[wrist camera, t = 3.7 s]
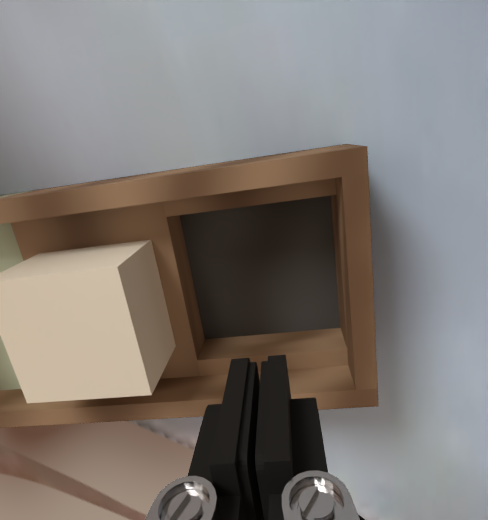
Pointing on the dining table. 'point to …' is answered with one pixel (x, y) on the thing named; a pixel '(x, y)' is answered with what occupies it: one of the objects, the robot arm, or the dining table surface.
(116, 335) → the cream block
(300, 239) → the box
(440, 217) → the dining table surface
